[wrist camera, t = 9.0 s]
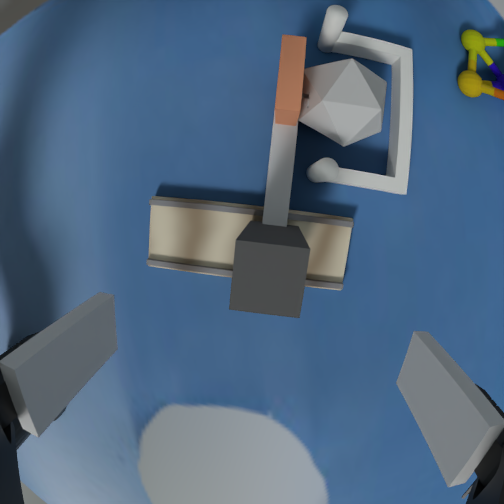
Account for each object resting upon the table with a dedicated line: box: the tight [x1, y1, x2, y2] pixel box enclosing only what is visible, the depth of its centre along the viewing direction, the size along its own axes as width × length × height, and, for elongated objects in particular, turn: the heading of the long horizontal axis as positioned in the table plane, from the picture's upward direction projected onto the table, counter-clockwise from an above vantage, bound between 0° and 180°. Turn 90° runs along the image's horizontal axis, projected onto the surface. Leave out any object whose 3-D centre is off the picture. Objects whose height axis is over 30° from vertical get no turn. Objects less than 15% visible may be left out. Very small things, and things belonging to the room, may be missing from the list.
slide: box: [147, 196, 354, 290], centre depth 34 cm, size 22×8×2 cm, turn 84°
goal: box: [306, 5, 413, 195], centre depth 27 cm, size 10×18×8 cm, turn 174°
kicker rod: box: [229, 35, 310, 318], centre depth 26 cm, size 5×22×13 cm, turn 174°
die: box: [299, 59, 387, 147], centre depth 27 cm, size 8×9×10 cm
